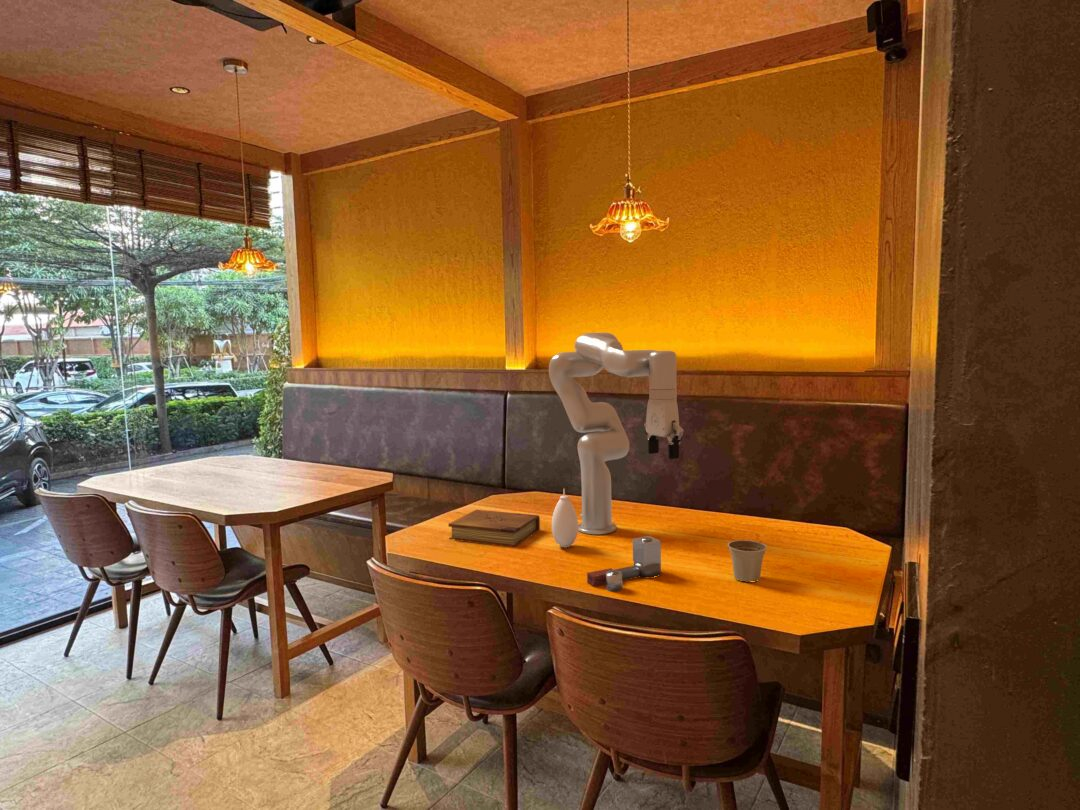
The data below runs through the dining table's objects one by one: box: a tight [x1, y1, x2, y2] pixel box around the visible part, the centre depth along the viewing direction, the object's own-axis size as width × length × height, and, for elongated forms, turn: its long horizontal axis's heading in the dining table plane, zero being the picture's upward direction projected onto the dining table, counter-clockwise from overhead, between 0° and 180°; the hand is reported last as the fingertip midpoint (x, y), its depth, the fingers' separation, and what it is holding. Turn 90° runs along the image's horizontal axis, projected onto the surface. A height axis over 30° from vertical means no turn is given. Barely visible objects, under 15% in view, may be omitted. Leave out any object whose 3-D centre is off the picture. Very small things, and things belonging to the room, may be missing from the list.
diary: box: [448, 509, 541, 548], centre depth 209 cm, size 23×19×6 cm
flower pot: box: [727, 539, 768, 583], centre depth 165 cm, size 9×9×9 cm
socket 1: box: [605, 569, 623, 593], centre depth 161 cm, size 4×4×4 cm
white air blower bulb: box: [551, 488, 579, 549], centre depth 194 cm, size 8×8×18 cm
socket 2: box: [632, 535, 662, 567], centre depth 171 cm, size 5×5×6 cm
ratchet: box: [586, 561, 662, 588], centre depth 168 cm, size 7×20×6 cm, turn 114°
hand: (663, 455), depth 184 cm, fingers open, 9 cm apart
